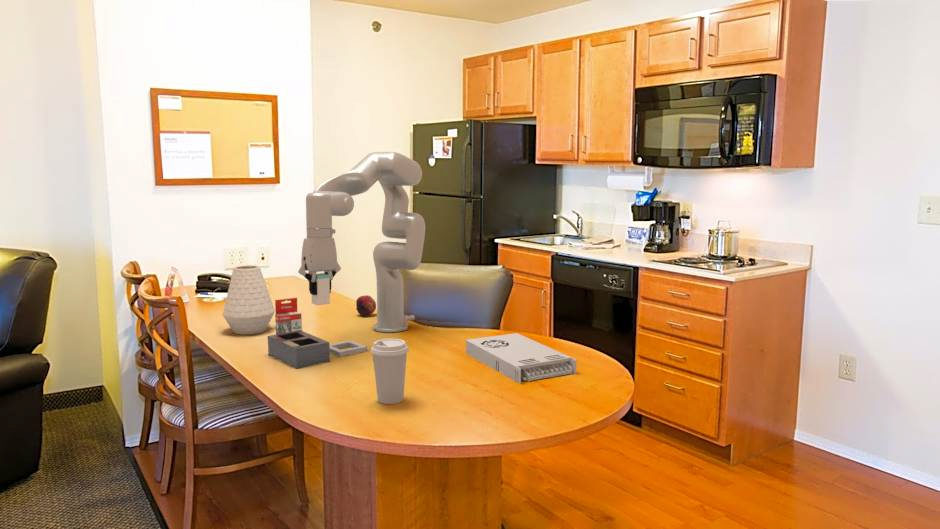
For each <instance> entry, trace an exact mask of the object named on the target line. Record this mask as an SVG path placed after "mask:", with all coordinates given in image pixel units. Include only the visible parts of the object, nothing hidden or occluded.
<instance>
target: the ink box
mask: <svg viewBox="0 0 940 529" xmlns="http://www.w3.org/2000/svg"><path fill="white" fill-rule="evenodd" d="M286 301H287V302H286ZM283 302H284V303H283ZM274 304H275V305H274V306H275V308H274V311H275V313H274V317H275V319H274V320H275V335H276V334H281V333H287V332H292V331H298V330H301V331H303V325H302V324H303V323H302V322H303V321H302V312H300V311H298V297H291V298H283V299H275V300H274Z"/></svg>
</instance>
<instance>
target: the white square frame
mask: <svg viewBox="0 0 940 529" xmlns="http://www.w3.org/2000/svg"><path fill="white" fill-rule="evenodd" d="M329 347H330V355H335V356H337V357H338V358H342V357H347V356H351V355H354V354H356V355H357V354H361V353H364V352H368V346H367V345H364V344H363V343H362V344H361V343H360V342H356V341H354V340H352V339H351V340H350V339H349V340H346V341H339V342H335V343H329ZM349 347H350V348H349ZM344 348H346V349H344Z"/></svg>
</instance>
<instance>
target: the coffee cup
mask: <svg viewBox="0 0 940 529" xmlns="http://www.w3.org/2000/svg"><path fill="white" fill-rule="evenodd" d="M372 344H373V345H372V346H371V347H370V353H371V354H372V360H373V369H374V377H375V387H376V396H377V398H376V399H377V402H378V403H380V404H383V405H395V404H396V405H397V404H400V403H402V402H403V401H404V394H405V383H406V382H405V381H406V368H407V354H408V353H409V350H410V349H409V347H408V345H407V342H406V341H405V340H403V339H401V338H381V339H378V340H376V341H374V342H373V343H372Z"/></svg>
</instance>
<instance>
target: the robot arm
mask: <svg viewBox="0 0 940 529" xmlns="http://www.w3.org/2000/svg"><path fill="white" fill-rule="evenodd" d="M422 178H423V170H422V167H421V165H420V164H419V163H418V162H417V161H416V160H414V159H411V158H410V157H408V156H406V155H403V154H402V153H399V152H396V151H373V152H369V153H368V154H367V155H366V156H365V157H363V158H362V159H361V160H360V161H359V162H358V163H357V164H356V165H355V166H353V167H352V168H351V169H350V170H348V171H347V172H344V173H341V174H339V175H336V176H335V177H331V178H330V179H328V180H326V181H323V182H322V183H321V184H319V185H318V187H317V188H315V189H314V190H313V191H312V192H309V193H308V194H306V197H305V220H306V222H305V223H306V225H305V226H306V238H303V241H302V249H301V260H300V261H301V262H300V263H301V264H300V267H299V269H298V271H297V272H298V274H299V275H301V276H303V277H304V278H305V279H306V280H307V281H308V291H309V294H310V295H311V296H312V295H317V282H315V278H316V274H317V273H320V272H324V274H329V278H330V294H331V292H332V291H331V290H332V281H333V279H334V277H335V276H336V274H337V273H338V272H340V271H341V269H342V267H341V266H340V264H339V262H338V255H337V254H338V253H337V248H336V242H335V238H334V237H333V234H334V235H335V234H336V229H333V217H345V216H347V215H350V214H351V213H352V212H353V210H354V208H355V201H354V199H353V198H354V197H353V196H357V195H361V194H363V193H366V192H368V191H369V190H370V189H371V188H372V186H374V185H375V184H376V183H377V182H379V184H380V186H381V188H382V191H383V194H384V199H385V200H384V207H383V214H382V215H383V216H382V222H381V233H382V234H383V236H384V237H386V238H390V239H398V240H405V242H400V241H382V242H379V243H377V244H376V245H375V247H374V248H373V252H372V257H373V263H374V267H375V274H376V278H375V279H376V310H377V311H376V317H377V322H376V323H375V324H373V326H372V328H373V330H374V331H376V332H378V333H379V332H381V333H399V332H404V331H406V330H408V329H409V324H408V322H409V321H411V322H412V321H415V319H416V316H415V314H410V315H407V314H405V313H404V312H405V310H404V307H405V306H404V304H405V303H404V302H405V301H404V279H403V278H404V277H403V275H402V273H401V271H400V270H403V271H415V270H417V269H418V267H419V266H420V264H421V262H422V257H423V251H424V243H425V236H426V221H425V219H424V217H423V216H422V215H421V214H419V213H418V212H410V211H409V204H410V198H409V196H408V193H407V191H406V189H405V188H404V186H406V187H408V186H409V187H410V186H411V187H412V186H413V187H414V186H416V185H417V186H418V184H419V183H421V180H422ZM306 271H307V272H306Z"/></svg>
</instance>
